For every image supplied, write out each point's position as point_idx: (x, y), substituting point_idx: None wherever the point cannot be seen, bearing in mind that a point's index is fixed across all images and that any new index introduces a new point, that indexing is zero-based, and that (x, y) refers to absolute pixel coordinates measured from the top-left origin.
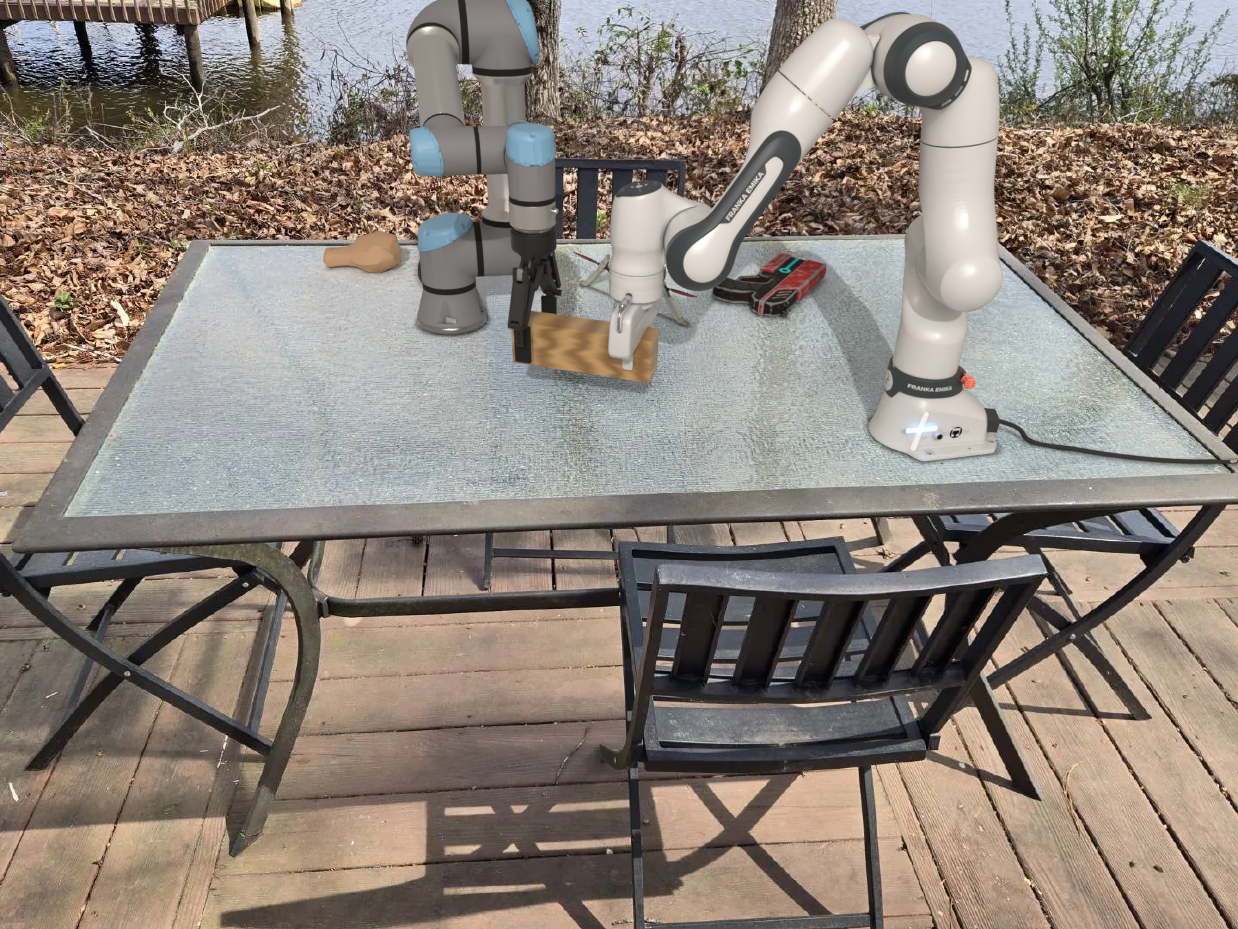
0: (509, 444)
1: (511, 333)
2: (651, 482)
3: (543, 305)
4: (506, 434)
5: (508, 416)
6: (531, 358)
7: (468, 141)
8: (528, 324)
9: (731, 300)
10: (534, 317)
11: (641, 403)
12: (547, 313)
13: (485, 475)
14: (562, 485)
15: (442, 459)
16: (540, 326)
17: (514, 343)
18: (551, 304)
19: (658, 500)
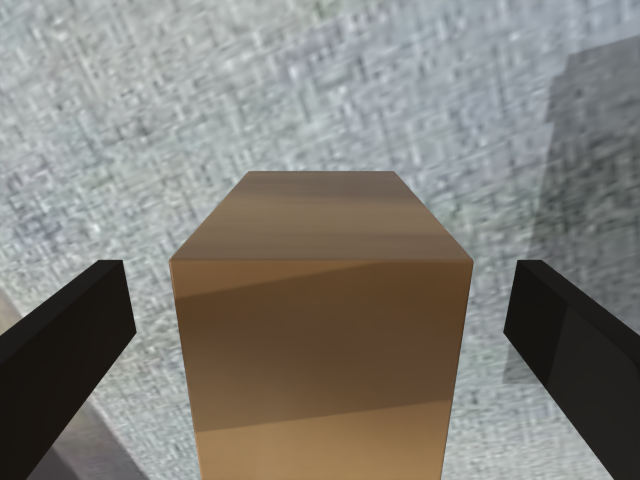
0: (169, 161)
1: (206, 218)
2: (169, 457)
3: (625, 376)
4: (210, 134)
5: (303, 101)
6: (127, 344)
7: None
8: (193, 401)
9: None
10: (323, 413)
11: (456, 385)
12: (429, 470)
13: (14, 158)
14: None
15: (10, 4)
16: (202, 477)
17: (24, 318)
18: (617, 450)
19: (123, 475)
